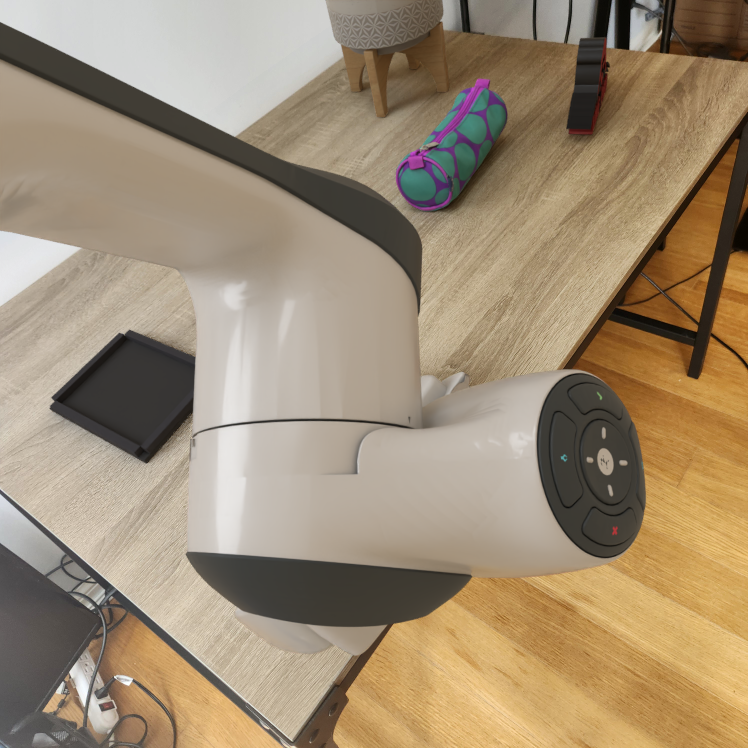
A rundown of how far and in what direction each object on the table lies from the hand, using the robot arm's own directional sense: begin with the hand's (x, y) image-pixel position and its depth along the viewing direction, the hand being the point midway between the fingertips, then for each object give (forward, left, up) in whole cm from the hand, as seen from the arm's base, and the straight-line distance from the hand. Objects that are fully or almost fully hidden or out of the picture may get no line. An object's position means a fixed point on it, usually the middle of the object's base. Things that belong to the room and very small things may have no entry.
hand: (313, 507), depth 50 cm
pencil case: (+60, +20, -13) cm, 65 cm away
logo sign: (+81, +8, -13) cm, 82 cm away
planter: (+81, +43, -13) cm, 93 cm away
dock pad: (+7, +37, -13) cm, 40 cm away
